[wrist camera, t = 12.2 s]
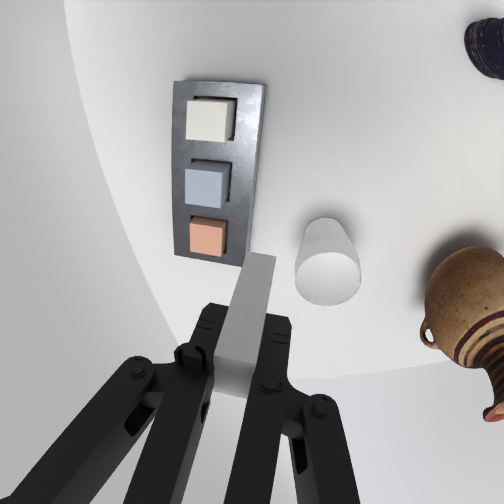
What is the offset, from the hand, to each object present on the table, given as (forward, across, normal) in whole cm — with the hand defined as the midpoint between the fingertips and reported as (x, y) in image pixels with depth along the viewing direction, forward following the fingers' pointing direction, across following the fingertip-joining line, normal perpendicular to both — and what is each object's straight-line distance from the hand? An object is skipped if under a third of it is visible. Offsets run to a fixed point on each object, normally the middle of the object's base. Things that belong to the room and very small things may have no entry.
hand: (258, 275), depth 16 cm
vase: (+30, +35, -15) cm, 49 cm away
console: (+30, -10, -6) cm, 32 cm away
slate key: (+28, -10, -6) cm, 30 cm away
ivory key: (+28, -10, +3) cm, 30 cm away
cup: (+30, +8, -14) cm, 34 cm away
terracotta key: (+29, -10, -15) cm, 34 cm away
